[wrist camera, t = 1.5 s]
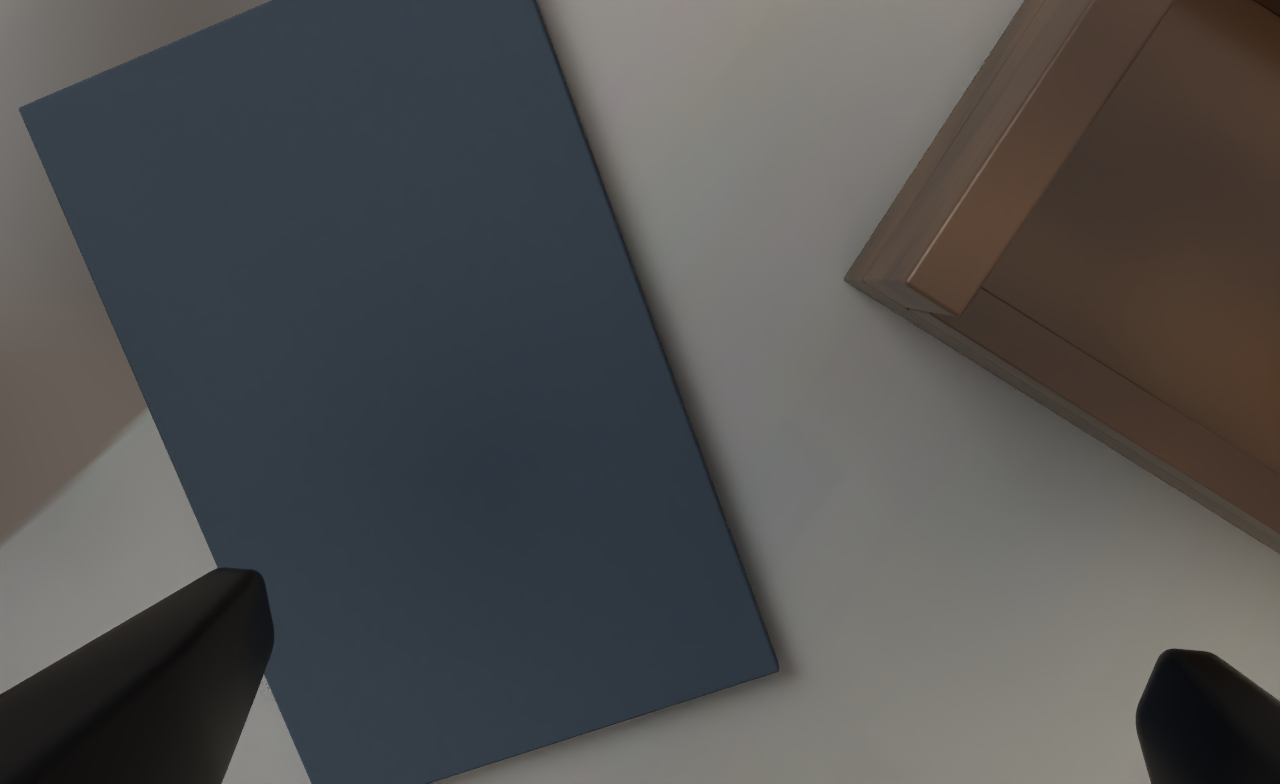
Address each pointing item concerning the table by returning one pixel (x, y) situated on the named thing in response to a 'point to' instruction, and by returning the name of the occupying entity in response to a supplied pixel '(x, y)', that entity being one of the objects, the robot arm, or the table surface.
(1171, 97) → the brown wooden tray
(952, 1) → the table surface
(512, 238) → the mat
